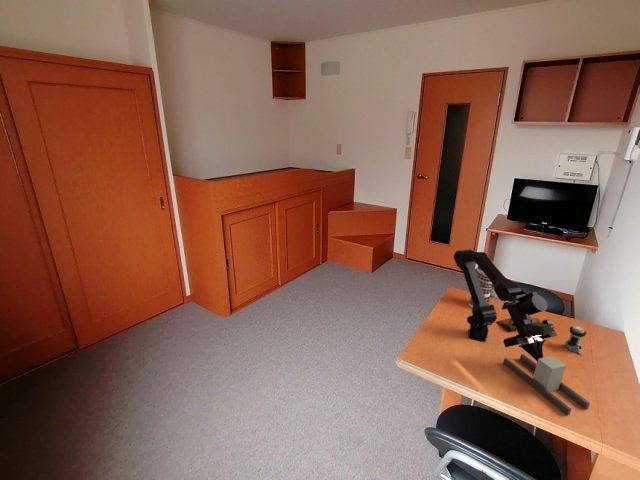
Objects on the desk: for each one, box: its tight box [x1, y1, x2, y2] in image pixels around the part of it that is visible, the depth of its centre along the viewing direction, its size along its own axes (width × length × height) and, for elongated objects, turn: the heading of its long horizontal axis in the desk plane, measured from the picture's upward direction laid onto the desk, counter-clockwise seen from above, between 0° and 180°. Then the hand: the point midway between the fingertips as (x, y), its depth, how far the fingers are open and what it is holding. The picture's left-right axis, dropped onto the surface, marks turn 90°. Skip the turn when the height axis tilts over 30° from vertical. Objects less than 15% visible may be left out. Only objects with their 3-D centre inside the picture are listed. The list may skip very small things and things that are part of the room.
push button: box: [564, 325, 587, 355], centre depth 128 cm, size 7×5×10 cm
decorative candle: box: [468, 258, 498, 309], centre depth 157 cm, size 9×9×25 cm
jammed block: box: [532, 355, 567, 393], centre depth 107 cm, size 5×6×10 cm
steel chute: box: [502, 353, 591, 417], centre depth 110 cm, size 24×10×4 cm, turn 18°
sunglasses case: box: [495, 316, 542, 333], centre depth 146 cm, size 18×7×7 cm
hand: (541, 363), depth 109 cm, fingers closed
